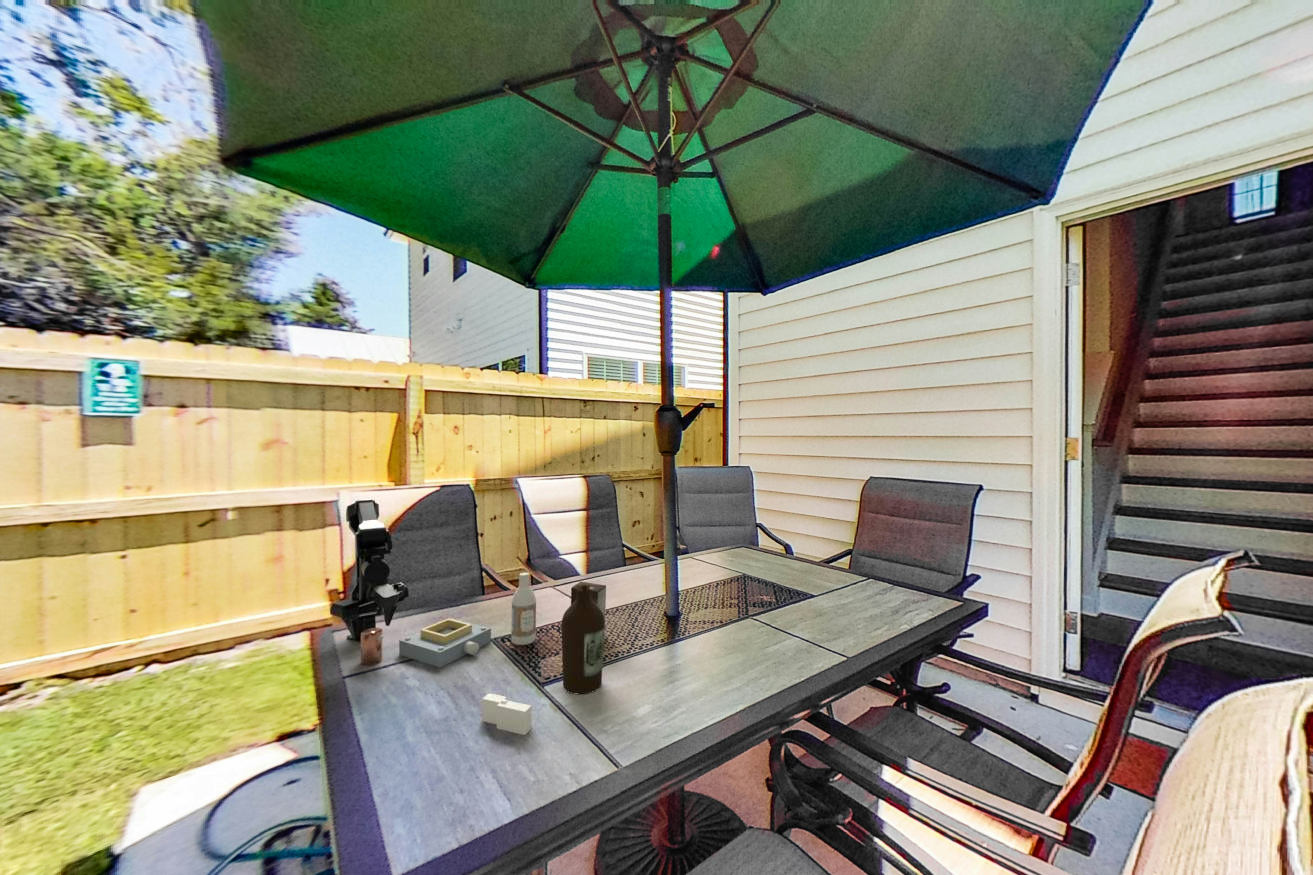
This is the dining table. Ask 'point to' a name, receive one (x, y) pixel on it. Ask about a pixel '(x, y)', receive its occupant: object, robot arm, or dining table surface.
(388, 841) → the dining table surface
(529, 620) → the bath foam
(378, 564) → the robot arm
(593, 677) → the olive oil
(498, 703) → the white stepped block
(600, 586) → the coffee box
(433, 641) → the grey plate with frame
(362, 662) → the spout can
